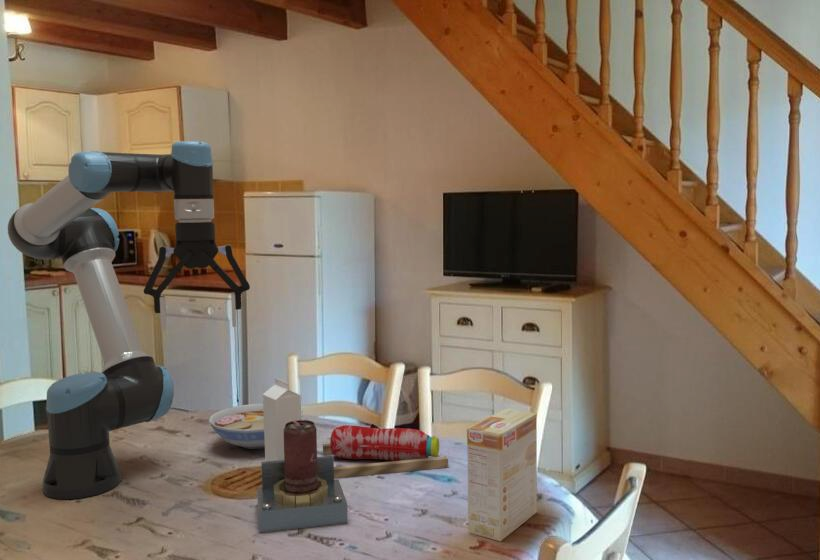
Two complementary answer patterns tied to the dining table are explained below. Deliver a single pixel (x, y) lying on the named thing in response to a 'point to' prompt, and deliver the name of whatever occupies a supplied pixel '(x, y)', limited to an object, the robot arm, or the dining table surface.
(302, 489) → the can
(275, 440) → the milk
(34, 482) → the dining table surface
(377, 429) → the water bottle
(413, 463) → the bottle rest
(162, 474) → the dining table surface
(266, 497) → the bolted ring bracket
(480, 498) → the coffeecake box
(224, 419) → the ramen bowl
